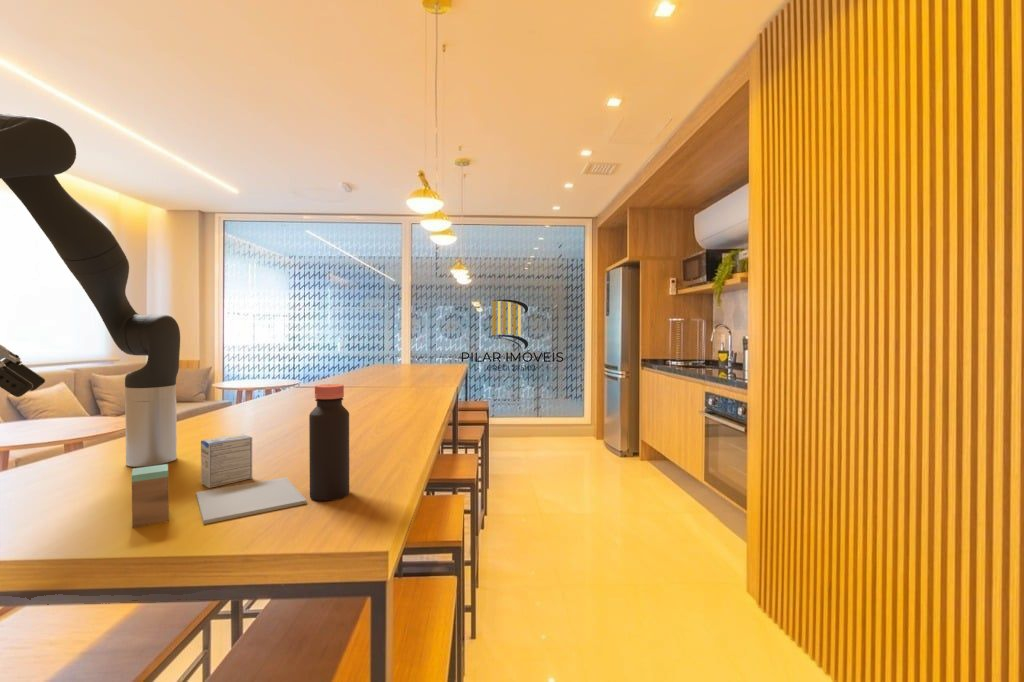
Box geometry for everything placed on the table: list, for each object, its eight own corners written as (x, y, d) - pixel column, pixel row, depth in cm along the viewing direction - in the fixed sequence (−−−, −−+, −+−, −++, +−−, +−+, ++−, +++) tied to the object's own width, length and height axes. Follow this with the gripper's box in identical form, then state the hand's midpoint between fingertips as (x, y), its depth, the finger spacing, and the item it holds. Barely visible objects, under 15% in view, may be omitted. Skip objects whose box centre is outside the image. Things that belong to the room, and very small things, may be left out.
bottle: (300, 499, 85) (300, 386, 85) (327, 487, 91) (327, 382, 91) (331, 503, 83) (331, 388, 82) (357, 491, 89) (357, 384, 89)
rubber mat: (196, 495, 87) (196, 492, 87) (286, 480, 96) (286, 477, 96) (203, 524, 74) (203, 520, 74) (306, 503, 83) (306, 500, 83)
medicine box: (243, 474, 99) (243, 433, 99) (253, 479, 96) (252, 436, 96) (200, 484, 93) (200, 439, 93) (209, 489, 90) (208, 443, 90)
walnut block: (133, 518, 76) (132, 468, 76) (168, 512, 79) (167, 463, 79) (132, 528, 72) (131, 475, 72) (168, 521, 75) (168, 470, 75)
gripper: (-86, 279, 56) (50, 372, 63) (-45, 288, 68) (66, 366, 75) (-159, 324, 53) (-8, 417, 60) (-104, 325, 64) (18, 403, 71)
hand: (33, 389), depth 67 cm, fingers open, 8 cm apart
